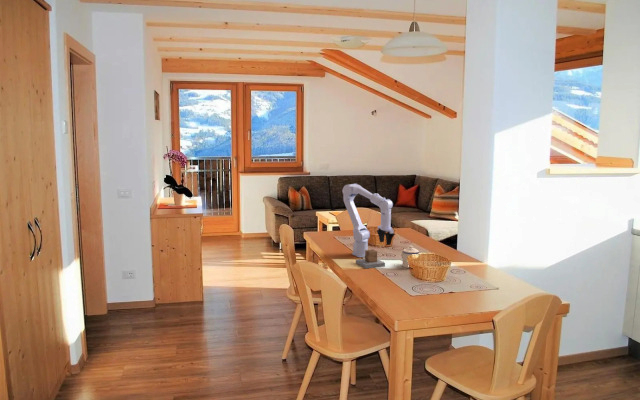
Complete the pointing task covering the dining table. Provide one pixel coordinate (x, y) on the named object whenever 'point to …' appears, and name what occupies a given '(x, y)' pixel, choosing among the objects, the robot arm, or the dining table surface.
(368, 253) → the walnut block
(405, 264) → the teacup with lid
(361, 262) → the slate trivet
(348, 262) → the dining table surface
